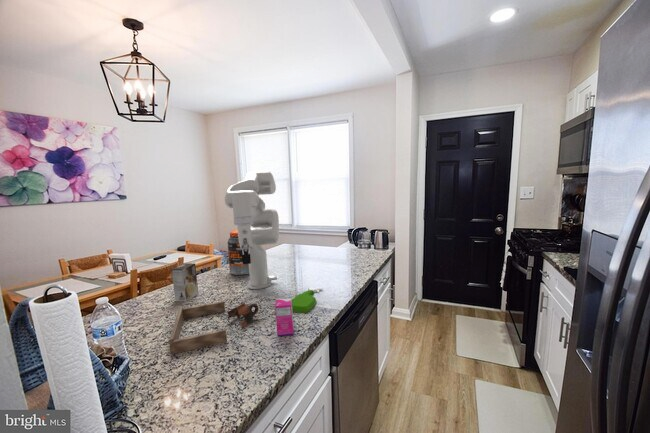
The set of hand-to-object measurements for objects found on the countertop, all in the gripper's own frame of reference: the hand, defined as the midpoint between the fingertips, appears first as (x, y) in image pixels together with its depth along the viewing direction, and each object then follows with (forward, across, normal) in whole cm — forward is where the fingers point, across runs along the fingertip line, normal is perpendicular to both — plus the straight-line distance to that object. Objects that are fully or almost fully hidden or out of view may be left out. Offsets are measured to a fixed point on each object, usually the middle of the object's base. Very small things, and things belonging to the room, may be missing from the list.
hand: (246, 261), depth 114 cm
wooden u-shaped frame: (+22, -9, +18) cm, 30 cm away
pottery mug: (+22, -9, +3) cm, 24 cm away
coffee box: (+22, +27, +28) cm, 45 cm away
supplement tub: (+21, +57, +1) cm, 61 cm away
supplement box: (+22, -23, -11) cm, 34 cm away
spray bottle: (+22, 0, -26) cm, 34 cm away
